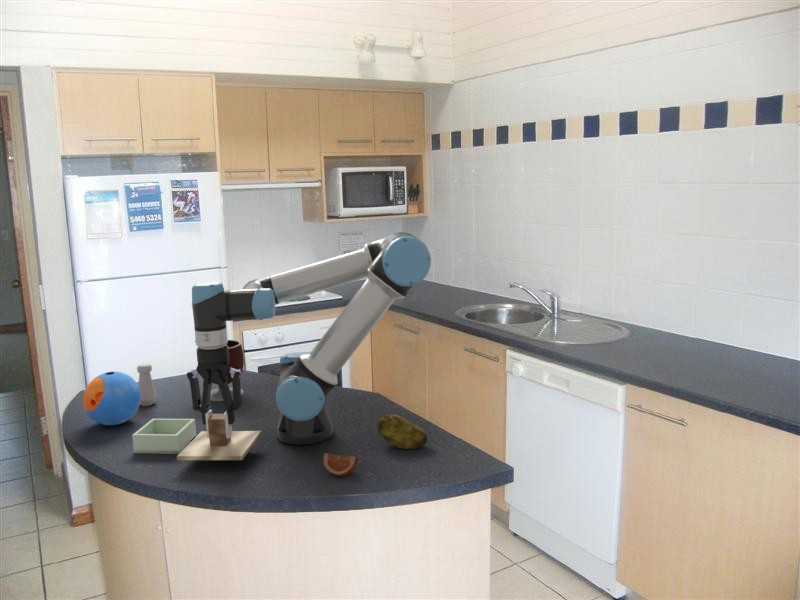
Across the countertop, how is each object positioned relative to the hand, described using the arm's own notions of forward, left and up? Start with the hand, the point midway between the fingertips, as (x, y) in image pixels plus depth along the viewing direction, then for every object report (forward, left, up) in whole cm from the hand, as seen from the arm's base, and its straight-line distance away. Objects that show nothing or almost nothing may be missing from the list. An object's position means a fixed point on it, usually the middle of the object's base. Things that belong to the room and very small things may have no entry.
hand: (220, 436), depth 166 cm
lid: (0, 0, -3) cm, 3 cm away
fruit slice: (-32, +7, -6) cm, 33 cm away
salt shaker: (+38, -41, -6) cm, 56 cm away
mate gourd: (+17, -50, -6) cm, 53 cm away
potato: (-45, -10, -6) cm, 46 cm away
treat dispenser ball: (+40, -24, -6) cm, 47 cm away
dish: (+18, -9, -6) cm, 21 cm away
